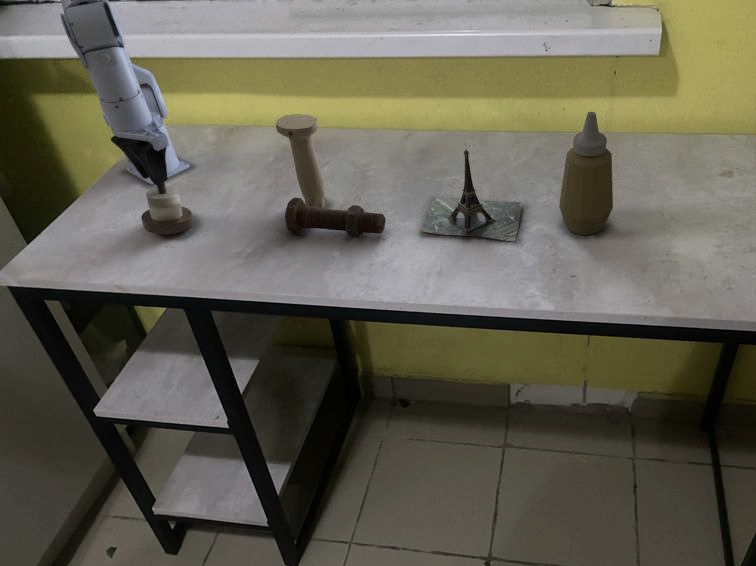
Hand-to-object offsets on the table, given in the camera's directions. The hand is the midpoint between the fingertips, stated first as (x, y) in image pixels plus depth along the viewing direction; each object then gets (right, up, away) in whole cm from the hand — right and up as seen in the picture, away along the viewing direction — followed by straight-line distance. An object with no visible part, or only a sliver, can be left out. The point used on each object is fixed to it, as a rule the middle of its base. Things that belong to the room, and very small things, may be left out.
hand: (155, 178), depth 110 cm
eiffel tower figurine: (+49, -6, +2) cm, 50 cm away
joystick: (+3, 0, +4) cm, 5 cm away
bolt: (+28, -8, +2) cm, 30 cm away
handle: (+23, -3, +8) cm, 25 cm away
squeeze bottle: (+67, -8, -1) cm, 67 cm away
